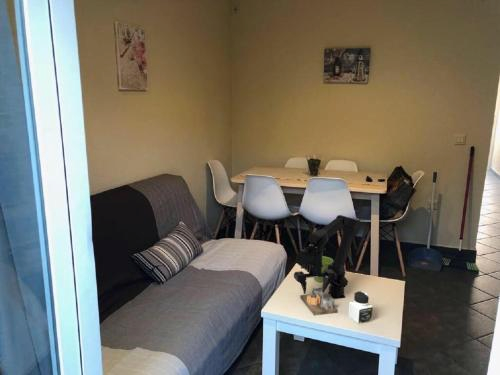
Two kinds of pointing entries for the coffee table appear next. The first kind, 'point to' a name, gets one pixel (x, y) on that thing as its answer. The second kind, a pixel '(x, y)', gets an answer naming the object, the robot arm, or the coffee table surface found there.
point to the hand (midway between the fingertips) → (313, 292)
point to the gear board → (325, 303)
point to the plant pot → (324, 267)
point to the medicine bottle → (360, 308)
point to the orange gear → (313, 299)
